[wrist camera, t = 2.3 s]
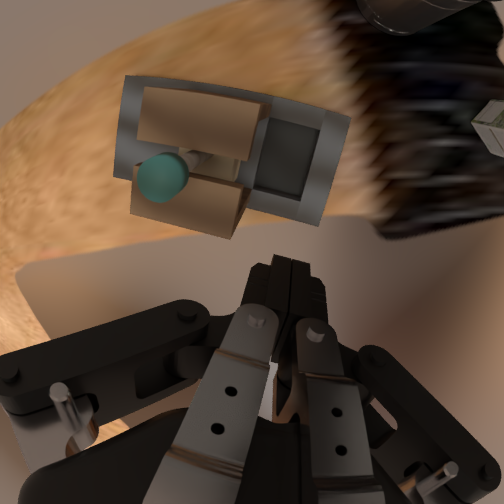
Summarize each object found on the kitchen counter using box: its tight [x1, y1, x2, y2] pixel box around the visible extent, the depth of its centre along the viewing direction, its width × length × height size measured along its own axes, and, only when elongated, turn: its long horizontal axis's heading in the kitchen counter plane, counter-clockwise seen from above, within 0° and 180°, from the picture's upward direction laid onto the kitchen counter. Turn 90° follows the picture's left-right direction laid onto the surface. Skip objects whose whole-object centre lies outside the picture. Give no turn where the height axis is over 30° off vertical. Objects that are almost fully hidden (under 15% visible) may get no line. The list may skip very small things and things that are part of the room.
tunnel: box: [113, 75, 351, 240], centre depth 32 cm, size 14×28×14 cm, turn 77°
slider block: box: [137, 147, 241, 203], centre depth 28 cm, size 7×6×17 cm
